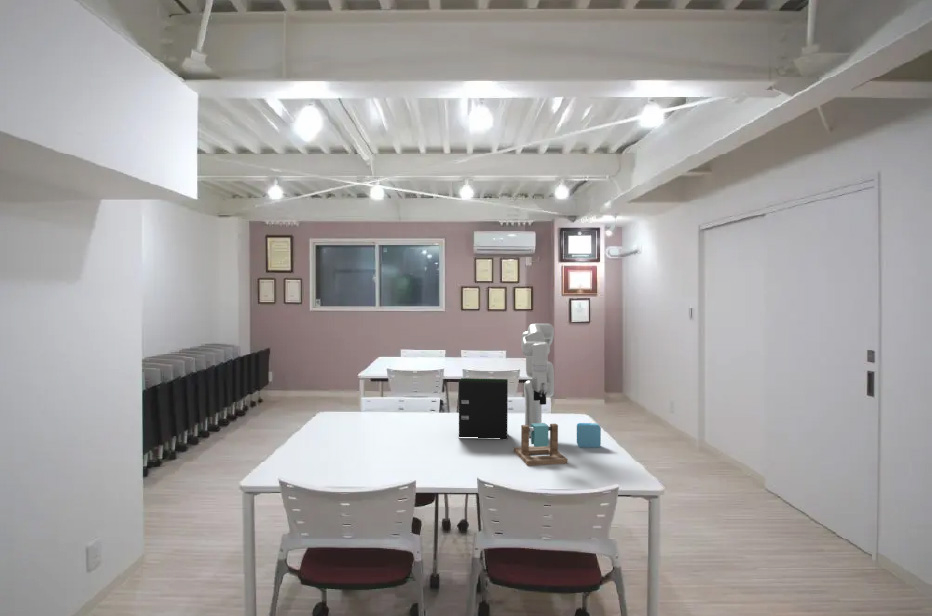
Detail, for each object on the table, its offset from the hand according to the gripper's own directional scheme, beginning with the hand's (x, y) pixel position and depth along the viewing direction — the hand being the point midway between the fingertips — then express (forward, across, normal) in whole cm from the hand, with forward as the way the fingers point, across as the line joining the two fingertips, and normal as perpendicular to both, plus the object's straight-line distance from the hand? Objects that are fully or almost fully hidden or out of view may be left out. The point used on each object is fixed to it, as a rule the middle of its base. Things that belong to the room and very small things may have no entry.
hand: (539, 402), depth 267 cm
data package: (+28, -14, +32) cm, 44 cm away
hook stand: (+27, 0, 0) cm, 27 cm away
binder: (+28, -44, -19) cm, 55 cm away
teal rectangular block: (+21, 0, 0) cm, 21 cm away
